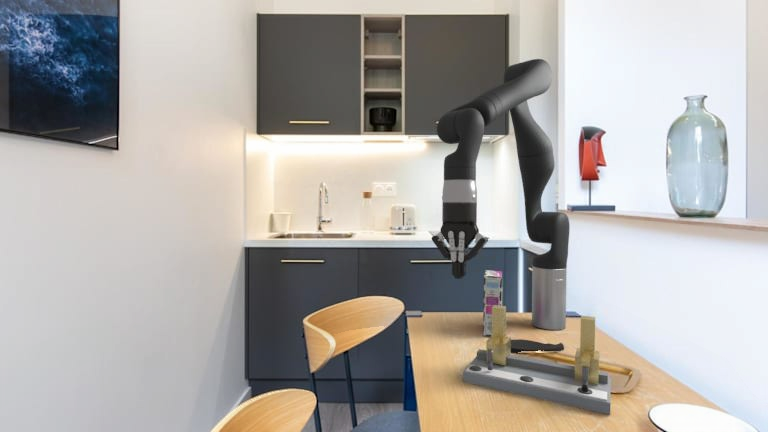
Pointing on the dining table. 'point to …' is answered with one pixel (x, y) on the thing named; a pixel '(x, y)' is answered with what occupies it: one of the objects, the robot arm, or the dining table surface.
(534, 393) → the board
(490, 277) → the candy bar box
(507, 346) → the slider
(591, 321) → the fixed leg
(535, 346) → the dark sector wedge
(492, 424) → the dining table surface
